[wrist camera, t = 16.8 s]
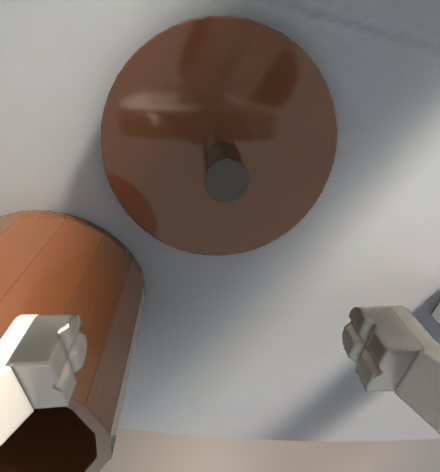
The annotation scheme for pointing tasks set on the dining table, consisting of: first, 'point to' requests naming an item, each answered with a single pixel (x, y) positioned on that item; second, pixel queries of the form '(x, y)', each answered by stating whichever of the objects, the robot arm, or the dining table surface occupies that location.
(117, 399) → the crock
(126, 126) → the lid
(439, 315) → the syrup box
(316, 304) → the dining table surface
